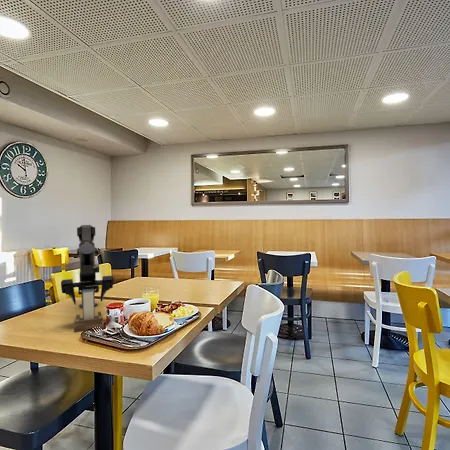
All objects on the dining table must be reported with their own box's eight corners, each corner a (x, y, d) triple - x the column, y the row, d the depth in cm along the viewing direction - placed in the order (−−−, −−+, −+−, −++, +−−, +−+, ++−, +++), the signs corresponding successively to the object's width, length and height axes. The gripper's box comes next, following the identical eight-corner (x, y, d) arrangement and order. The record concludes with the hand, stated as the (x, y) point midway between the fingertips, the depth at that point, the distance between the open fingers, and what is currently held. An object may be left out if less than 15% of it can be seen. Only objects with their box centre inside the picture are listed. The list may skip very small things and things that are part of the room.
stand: (75, 322, 123) (75, 313, 122) (102, 318, 127) (102, 310, 127) (74, 332, 112) (73, 322, 112) (103, 327, 116) (103, 318, 116)
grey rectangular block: (83, 320, 121) (82, 289, 120) (94, 318, 122) (93, 288, 122) (83, 324, 116) (82, 292, 116) (94, 322, 117) (93, 290, 117)
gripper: (60, 259, 119) (59, 293, 109) (112, 255, 126) (115, 287, 116) (62, 276, 126) (61, 310, 116) (111, 272, 134) (114, 303, 124)
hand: (88, 302), depth 118 cm, fingers open, 9 cm apart
